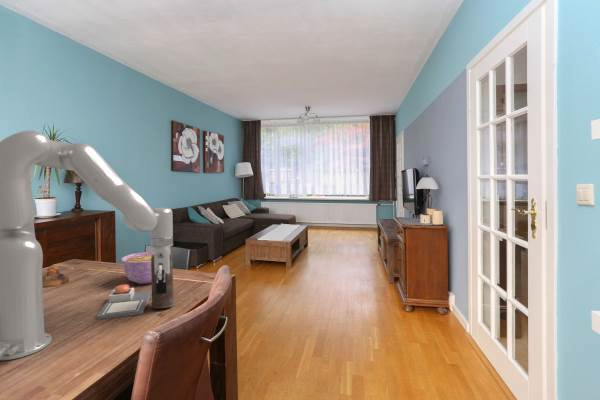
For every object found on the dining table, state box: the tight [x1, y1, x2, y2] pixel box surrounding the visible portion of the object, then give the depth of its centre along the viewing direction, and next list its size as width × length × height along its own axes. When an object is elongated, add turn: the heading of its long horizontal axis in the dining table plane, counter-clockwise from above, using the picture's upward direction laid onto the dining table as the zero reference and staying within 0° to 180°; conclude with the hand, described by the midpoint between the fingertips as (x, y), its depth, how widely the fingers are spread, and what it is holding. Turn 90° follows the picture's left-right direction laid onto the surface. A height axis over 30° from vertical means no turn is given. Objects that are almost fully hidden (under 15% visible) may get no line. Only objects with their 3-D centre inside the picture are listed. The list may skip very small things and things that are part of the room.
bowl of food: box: [120, 251, 154, 285], centre depth 141 cm, size 20×20×12 cm
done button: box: [114, 284, 130, 295], centre depth 118 cm, size 5×5×2 cm
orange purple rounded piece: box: [42, 266, 70, 288], centre depth 137 cm, size 12×12×7 cm
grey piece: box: [96, 287, 152, 320], centre depth 114 cm, size 20×14×4 cm
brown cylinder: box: [151, 252, 175, 309], centre depth 112 cm, size 8×7×20 cm
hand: (162, 289), depth 112 cm, fingers closed on brown cylinder, 7 cm apart
